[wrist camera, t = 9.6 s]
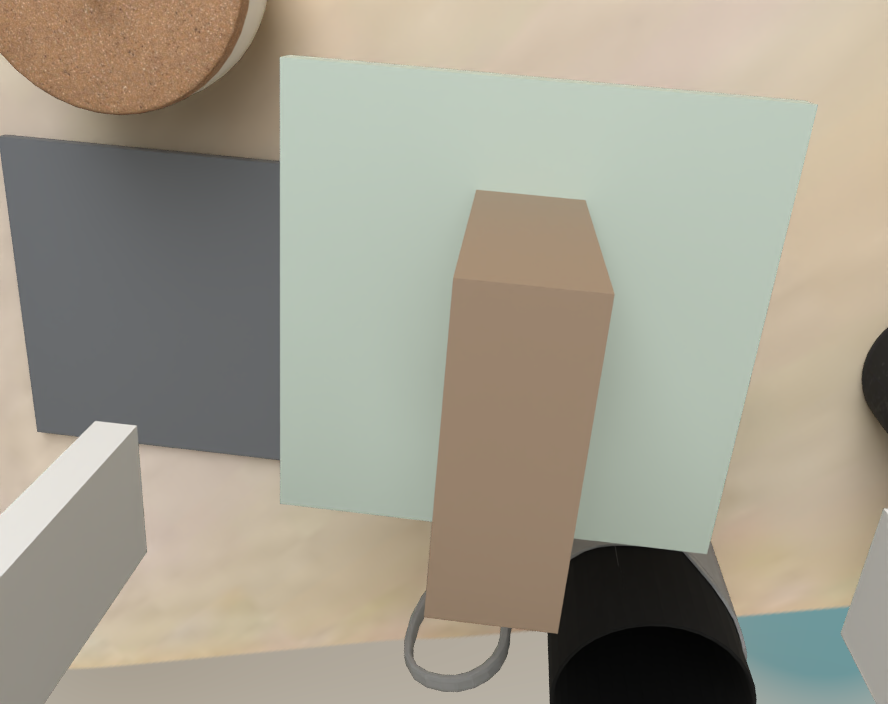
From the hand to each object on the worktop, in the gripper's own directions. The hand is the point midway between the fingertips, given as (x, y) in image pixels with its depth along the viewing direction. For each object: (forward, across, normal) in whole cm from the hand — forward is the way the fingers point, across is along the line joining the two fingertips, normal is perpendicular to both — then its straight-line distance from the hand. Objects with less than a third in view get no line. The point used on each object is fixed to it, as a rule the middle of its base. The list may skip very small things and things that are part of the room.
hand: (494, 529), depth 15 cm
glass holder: (+26, +4, -15) cm, 31 cm away
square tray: (+26, -16, -7) cm, 32 cm away
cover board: (+11, 0, 0) cm, 11 cm away
